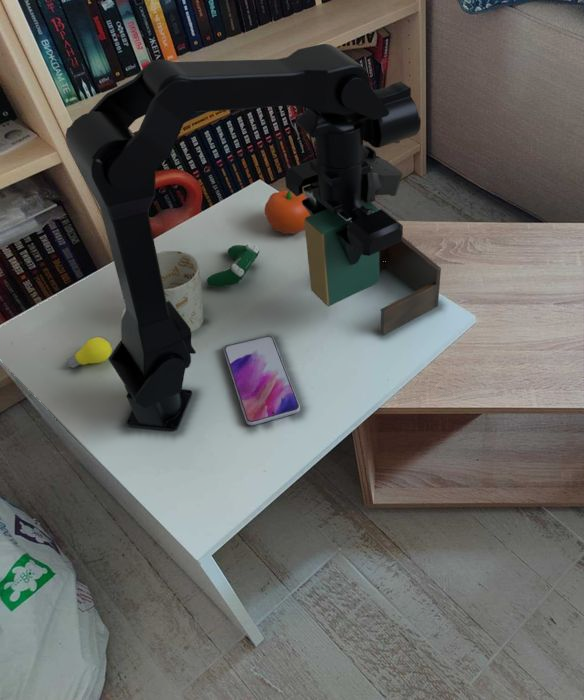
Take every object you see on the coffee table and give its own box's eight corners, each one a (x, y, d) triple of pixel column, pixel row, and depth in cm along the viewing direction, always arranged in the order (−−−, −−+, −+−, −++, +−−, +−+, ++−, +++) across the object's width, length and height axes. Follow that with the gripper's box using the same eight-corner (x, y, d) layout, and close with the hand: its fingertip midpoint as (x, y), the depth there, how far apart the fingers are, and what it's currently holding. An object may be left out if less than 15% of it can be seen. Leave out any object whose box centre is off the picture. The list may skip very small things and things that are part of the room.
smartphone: (272, 333, 99) (301, 409, 90) (272, 337, 99) (301, 412, 91) (221, 345, 96) (246, 424, 87) (222, 349, 97) (247, 428, 88)
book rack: (383, 335, 102) (384, 297, 96) (332, 286, 108) (329, 247, 102) (437, 306, 107) (441, 268, 101) (385, 261, 114) (386, 222, 108)
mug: (223, 318, 101) (211, 267, 94) (154, 367, 94) (134, 316, 86) (185, 294, 104) (171, 242, 97) (115, 339, 96) (93, 288, 89)
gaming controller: (221, 299, 106) (243, 285, 103) (202, 283, 105) (223, 267, 101) (246, 263, 113) (267, 248, 109) (228, 247, 111) (249, 232, 107)
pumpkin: (314, 240, 115) (316, 201, 111) (266, 240, 113) (265, 201, 108) (309, 217, 121) (311, 179, 116) (263, 216, 118) (262, 178, 113)
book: (327, 307, 95) (321, 233, 85) (311, 291, 97) (303, 217, 87) (379, 282, 100) (379, 209, 90) (363, 267, 101) (361, 194, 92)
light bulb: (113, 341, 95) (119, 359, 93) (73, 362, 94) (77, 380, 92) (99, 328, 92) (105, 346, 91) (57, 349, 91) (62, 367, 89)
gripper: (438, 171, 82) (431, 268, 94) (349, 106, 91) (353, 203, 102) (364, 201, 77) (366, 301, 88) (277, 129, 85) (289, 229, 97)
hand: (345, 255), depth 94 cm, fingers closed on book, 4 cm apart
